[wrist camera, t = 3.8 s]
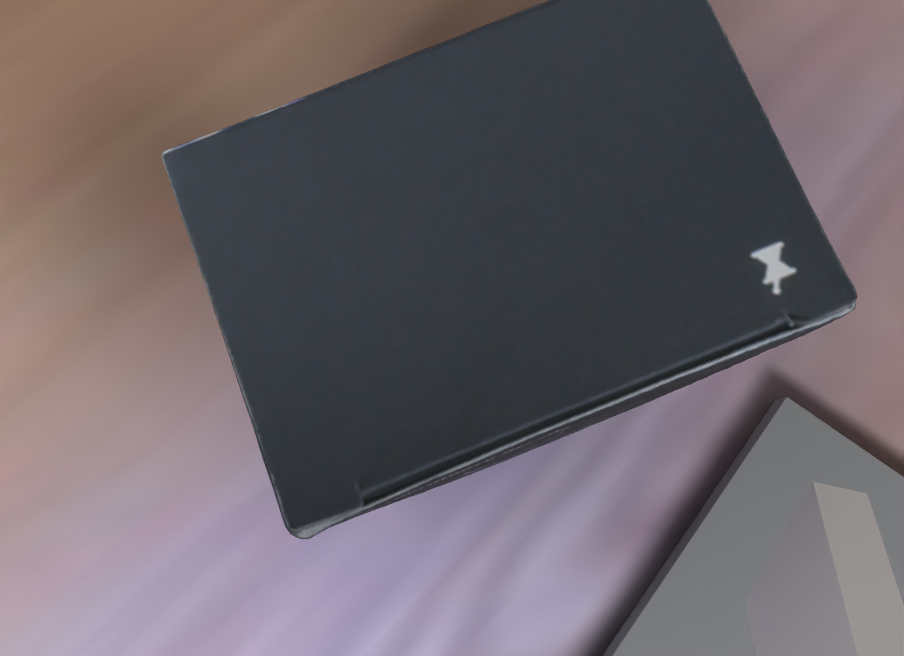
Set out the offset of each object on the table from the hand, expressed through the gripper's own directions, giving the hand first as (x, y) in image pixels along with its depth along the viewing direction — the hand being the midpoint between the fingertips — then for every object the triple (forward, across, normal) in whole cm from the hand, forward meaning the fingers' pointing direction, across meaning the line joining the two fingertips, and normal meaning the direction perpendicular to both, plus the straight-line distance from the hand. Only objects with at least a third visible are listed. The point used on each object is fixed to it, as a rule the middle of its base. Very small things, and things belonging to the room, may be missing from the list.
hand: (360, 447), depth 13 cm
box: (+8, +2, -3) cm, 9 cm away
